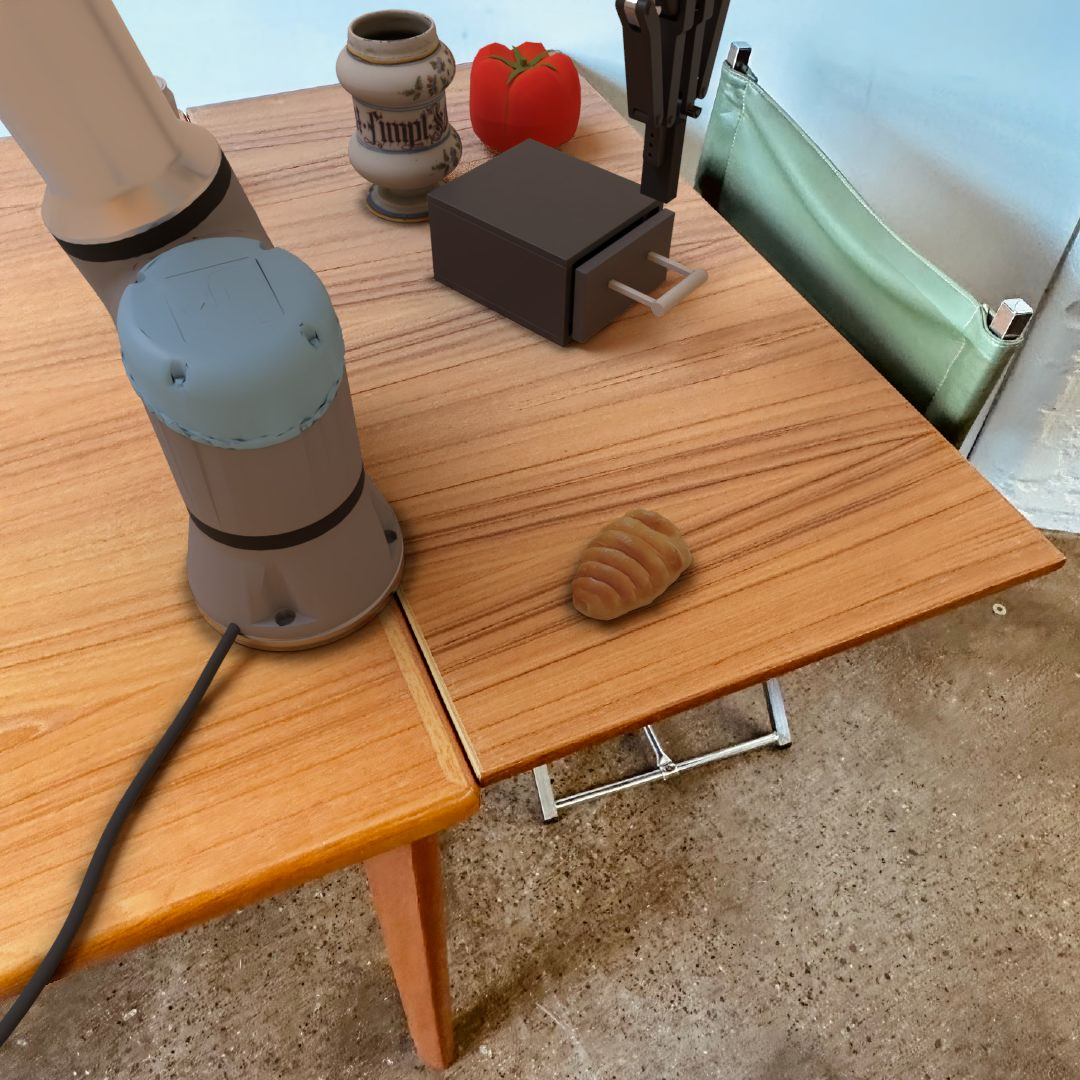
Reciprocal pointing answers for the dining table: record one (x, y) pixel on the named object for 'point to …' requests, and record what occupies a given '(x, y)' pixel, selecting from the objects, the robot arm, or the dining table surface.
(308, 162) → the dining table surface
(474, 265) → the cabinet
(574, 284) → the drawer
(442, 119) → the apothecary jar
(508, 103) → the tomato
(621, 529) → the pastry
